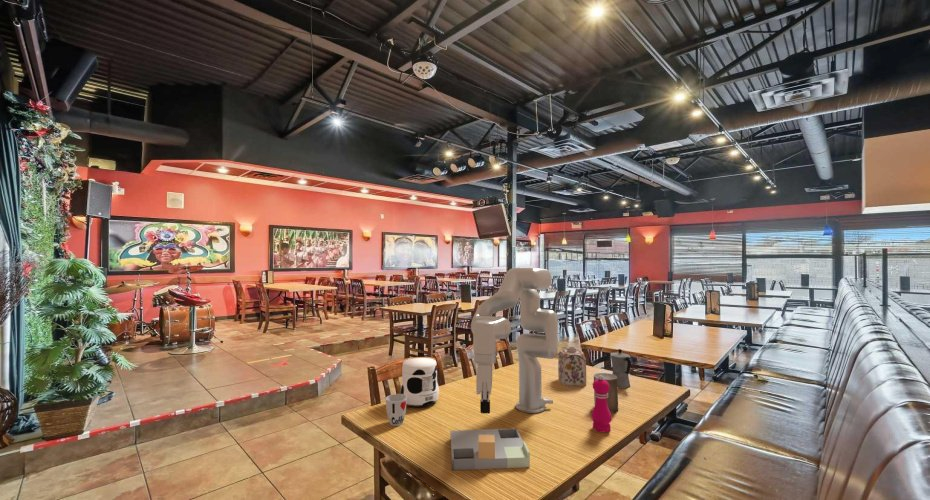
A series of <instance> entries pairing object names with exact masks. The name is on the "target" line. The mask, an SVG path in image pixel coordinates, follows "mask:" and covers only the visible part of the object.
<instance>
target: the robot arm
mask: <svg viewBox="0 0 930 500" xmlns="http://www.w3.org/2000/svg"><path fill="white" fill-rule="evenodd" d="M552 280H553V279H552V274H551V272H550V270H548V269H546V268H538V267H512V268H510V269H509V270H507V271H506V274H505V276H504V278H503V280H502V282H501V284H500V286H499V287H498V290H497V292H496V293H494V294H493V295H491V296H490V297H489V298H487V299H486V300H484V301H483V302H481V304H480V305H479V306H478V307H477V309H476V311H475V313H474V315H473V317H472V320H471V323H470V329H471V332H472V335H473V337H472V338H473V339H472V341H473V342H472V343H473V363H474V364H475V365H476V369H475V370H476V372H475V373H476V375H475V376H476V377H475V378H476V379H475V380H476V382H475V383H476V385H475V386H476V391H475V392H476V393H475V394H476V395H477V396H478V395H480V402H479V405H480V410H479V412H480V414H491V399H490V395H491V394H492V387H493V365H494V364H496V363H497V346H496V345H497V343H496V342H497V340H504V339H506V338H507V337H509V336H510V334H511V333H512V323H511V322H510V320H509V319H508V318H506V317H503V316H492V315H494V314H495V313H499V312H502V311H506V310H508V309H511V308H514V307H515V306H517V304H518V302H519V300H520V305H519V306H520V308H519V314H520V327H521V328H522V329H523V330H525V331H530V332H540V333H544V334H538V333H528V332H527V333H521V334H520V335H518V337H517V339H516V343H515V344H516V351H517V356H518V387H519V388H518V393H519V394H518V396H519V397H518V399H519V400H518V401H517V402H515V409H517V410H518V411H521V412H523V413H526V414H538V413H542V412H544V411H545V410H546V404H549V405H552V404H554V401H553V398H549V397H544V396H542V391H543V390H542V365H541V363H540V361H539V359H549V360H551V359H555V358H556V357H557V356H558V350H559V338H558V337H559V323H558V321H559V320H558V316H557V313H556V312H555V311H554V310H552V309H544V308H541V296H540V295H539V292H538V290H539V291H540V290H541V291H542V290H543V291H545V290H548V289H549V288H550V286H551V285H552ZM538 358H539V359H538Z"/></svg>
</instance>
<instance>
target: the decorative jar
mask: <svg viewBox="0 0 930 500" xmlns="http://www.w3.org/2000/svg"><path fill="white" fill-rule="evenodd" d="M557 357H558V358H557V360H558V363H557V365H558V366H557V368H558V369H557V370H558V372H557V373H558V380H559V382H560V383H561V384H562V386H563V387H567V386H568V387H586V386H587V359H586V356H585V353H584V352H583V351H582V350H579V349H577V347H576V346H568V347H566V348H565V349H562V350H560V351H559V353H557Z"/></svg>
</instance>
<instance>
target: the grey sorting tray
mask: <svg viewBox="0 0 930 500" xmlns="http://www.w3.org/2000/svg"><path fill="white" fill-rule="evenodd" d="M479 435H494V438H495V459H479ZM450 447H451V448H450V451H451V453H450V455H451V470H452V471H466V470H471V471H472V470H489V469H490V470H491V469H512V468H513V469H517V468H531V464H530V463H531V461H530V460H531V459H530V456H531V455H530V453H531V452H530V450H529V447H528V445H527V443H526V441H523V438H522V437H521V434H520V432H519V430H518V428H495V429H494V428H493V429H492V428H489V429H462V430H450Z"/></svg>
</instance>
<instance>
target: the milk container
mask: <svg viewBox="0 0 930 500" xmlns="http://www.w3.org/2000/svg"><path fill="white" fill-rule="evenodd" d="M401 369H402V371H401V372H402V373H401V378H402V380H401V381H402V383H401V387H400V391H399V394H403V395H406V396H407V400H406V406H409V407H413V408H417V407H426V406H430V405H433V404H434V403H436V402H437V401H438V399H439V396H440V388H439V387H440V386H439V383H438V365H437V361H436V359H433V358H429V357H428V358H427V357H415V358H414V357H413V358H409V359H406V360H404V361H403V362H402V367H401Z"/></svg>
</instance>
